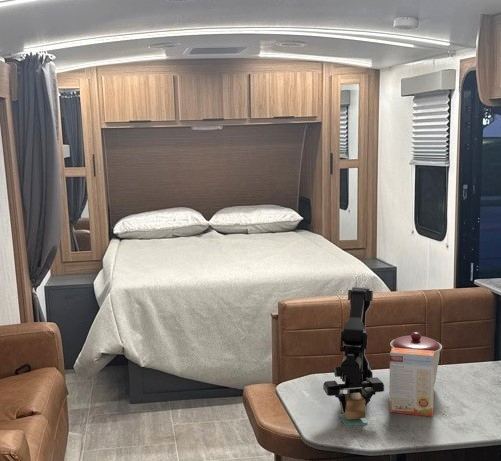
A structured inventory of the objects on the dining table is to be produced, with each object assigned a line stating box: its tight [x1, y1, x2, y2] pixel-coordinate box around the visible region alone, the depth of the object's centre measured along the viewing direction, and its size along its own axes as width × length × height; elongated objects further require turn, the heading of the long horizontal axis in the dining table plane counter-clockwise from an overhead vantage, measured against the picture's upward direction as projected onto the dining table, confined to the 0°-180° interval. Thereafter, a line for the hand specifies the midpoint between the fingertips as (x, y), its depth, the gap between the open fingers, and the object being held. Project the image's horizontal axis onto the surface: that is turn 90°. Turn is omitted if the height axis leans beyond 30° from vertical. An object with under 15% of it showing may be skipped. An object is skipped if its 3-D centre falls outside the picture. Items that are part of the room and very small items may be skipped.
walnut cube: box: [341, 393, 366, 419], centre depth 202 cm, size 6×6×6 cm
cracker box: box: [388, 347, 435, 417], centre depth 207 cm, size 14×6×21 cm, turn 71°
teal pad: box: [338, 413, 369, 427], centre depth 203 cm, size 7×7×1 cm
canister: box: [389, 331, 443, 386], centre depth 226 cm, size 18×18×21 cm
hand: (353, 411), depth 202 cm, fingers closed on walnut cube, 6 cm apart
